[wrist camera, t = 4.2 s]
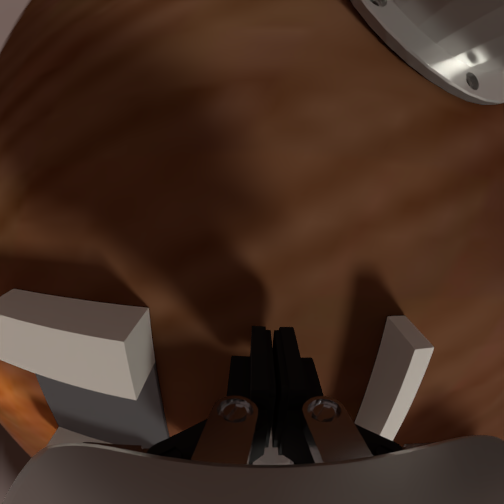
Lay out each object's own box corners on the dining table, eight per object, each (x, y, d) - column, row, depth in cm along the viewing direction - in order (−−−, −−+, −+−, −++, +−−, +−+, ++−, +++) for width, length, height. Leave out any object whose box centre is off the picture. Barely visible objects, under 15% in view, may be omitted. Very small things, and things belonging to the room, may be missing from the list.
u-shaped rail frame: (13, 288, 13) (-20, 308, 10) (404, 315, 13) (434, 347, 10) (118, 513, 20) (111, 532, 17) (308, 532, 20) (311, 553, 17)
